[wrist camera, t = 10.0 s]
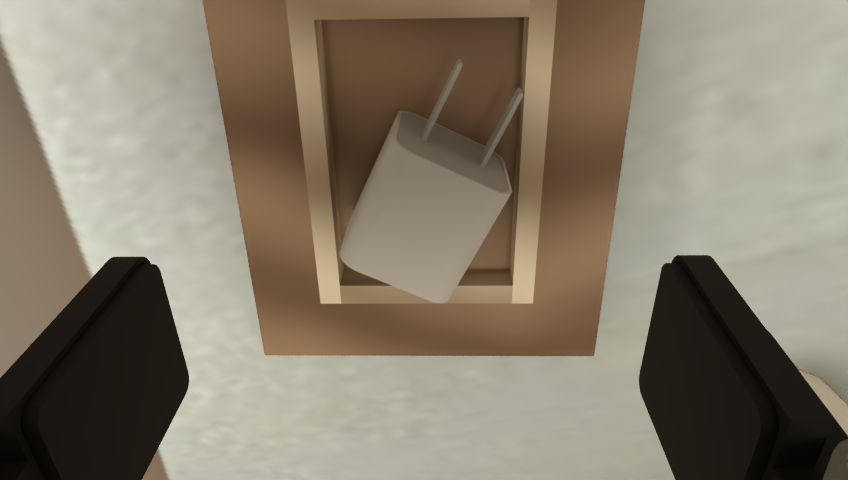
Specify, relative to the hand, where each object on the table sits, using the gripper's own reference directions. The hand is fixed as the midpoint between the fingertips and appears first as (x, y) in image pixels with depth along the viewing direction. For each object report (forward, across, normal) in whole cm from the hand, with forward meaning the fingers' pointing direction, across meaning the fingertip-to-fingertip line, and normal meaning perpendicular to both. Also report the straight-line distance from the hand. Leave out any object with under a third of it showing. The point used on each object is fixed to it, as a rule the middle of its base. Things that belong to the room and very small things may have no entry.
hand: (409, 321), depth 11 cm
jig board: (+12, 0, +1) cm, 12 cm away
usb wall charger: (+11, -1, +1) cm, 11 cm away
